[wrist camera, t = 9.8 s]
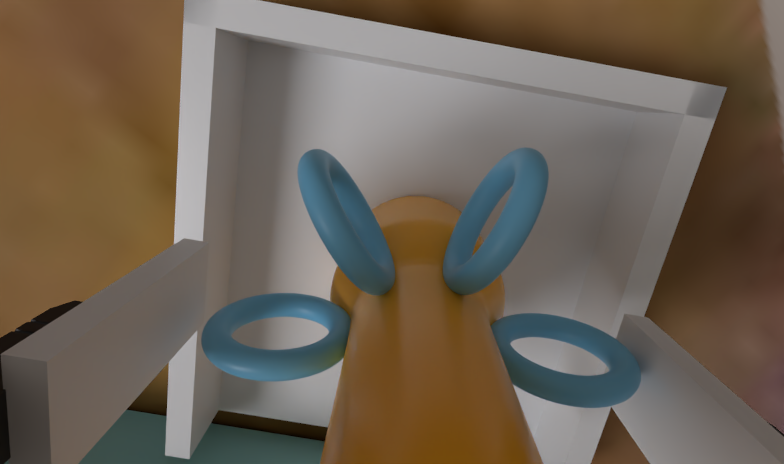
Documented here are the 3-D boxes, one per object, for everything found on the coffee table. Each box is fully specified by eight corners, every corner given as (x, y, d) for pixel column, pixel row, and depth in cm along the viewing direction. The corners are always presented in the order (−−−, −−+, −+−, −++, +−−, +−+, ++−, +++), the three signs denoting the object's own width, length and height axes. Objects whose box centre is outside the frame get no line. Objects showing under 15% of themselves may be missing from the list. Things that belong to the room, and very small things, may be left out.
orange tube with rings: (230, 197, 19) (-338, 509, 4) (458, 67, 17) (748, -121, 3) (376, 420, 22) (324, 1063, 7) (584, 325, 20) (1054, 903, 6)
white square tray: (197, 454, 23) (162, 516, 20) (227, 9, 17) (185, -14, 14) (528, 507, 23) (550, 575, 20) (665, 90, 18) (726, 87, 14)
